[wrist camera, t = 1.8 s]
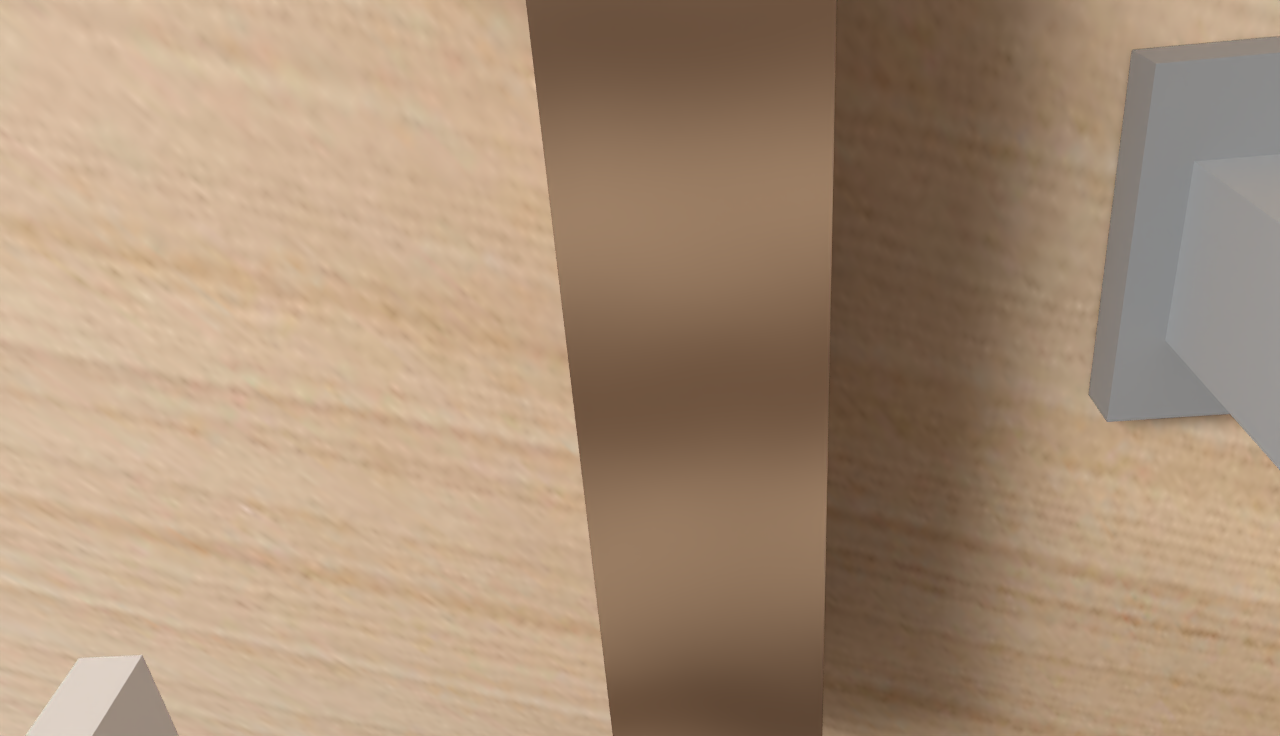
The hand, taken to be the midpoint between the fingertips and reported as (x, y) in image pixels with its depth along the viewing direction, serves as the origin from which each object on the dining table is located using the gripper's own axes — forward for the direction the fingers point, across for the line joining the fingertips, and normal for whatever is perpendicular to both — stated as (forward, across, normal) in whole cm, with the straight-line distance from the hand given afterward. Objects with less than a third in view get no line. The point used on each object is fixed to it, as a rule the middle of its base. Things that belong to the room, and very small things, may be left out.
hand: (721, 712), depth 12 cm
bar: (+13, 0, 0) cm, 13 cm away
